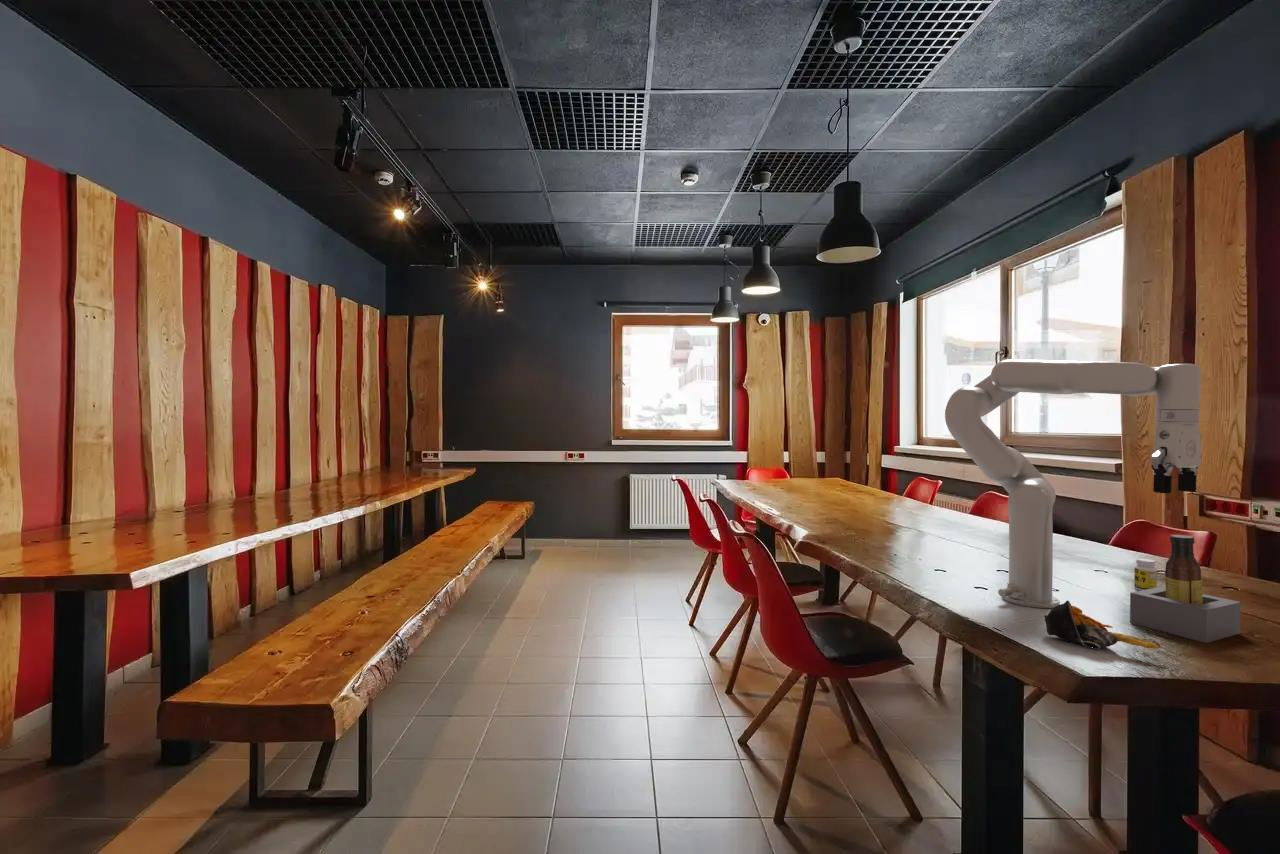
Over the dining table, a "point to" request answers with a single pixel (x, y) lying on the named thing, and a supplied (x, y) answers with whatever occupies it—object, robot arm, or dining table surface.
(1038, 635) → the dining table surface
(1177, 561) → the sauce bottle
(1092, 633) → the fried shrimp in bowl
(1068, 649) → the dining table surface
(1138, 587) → the supplement bottle
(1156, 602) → the box
